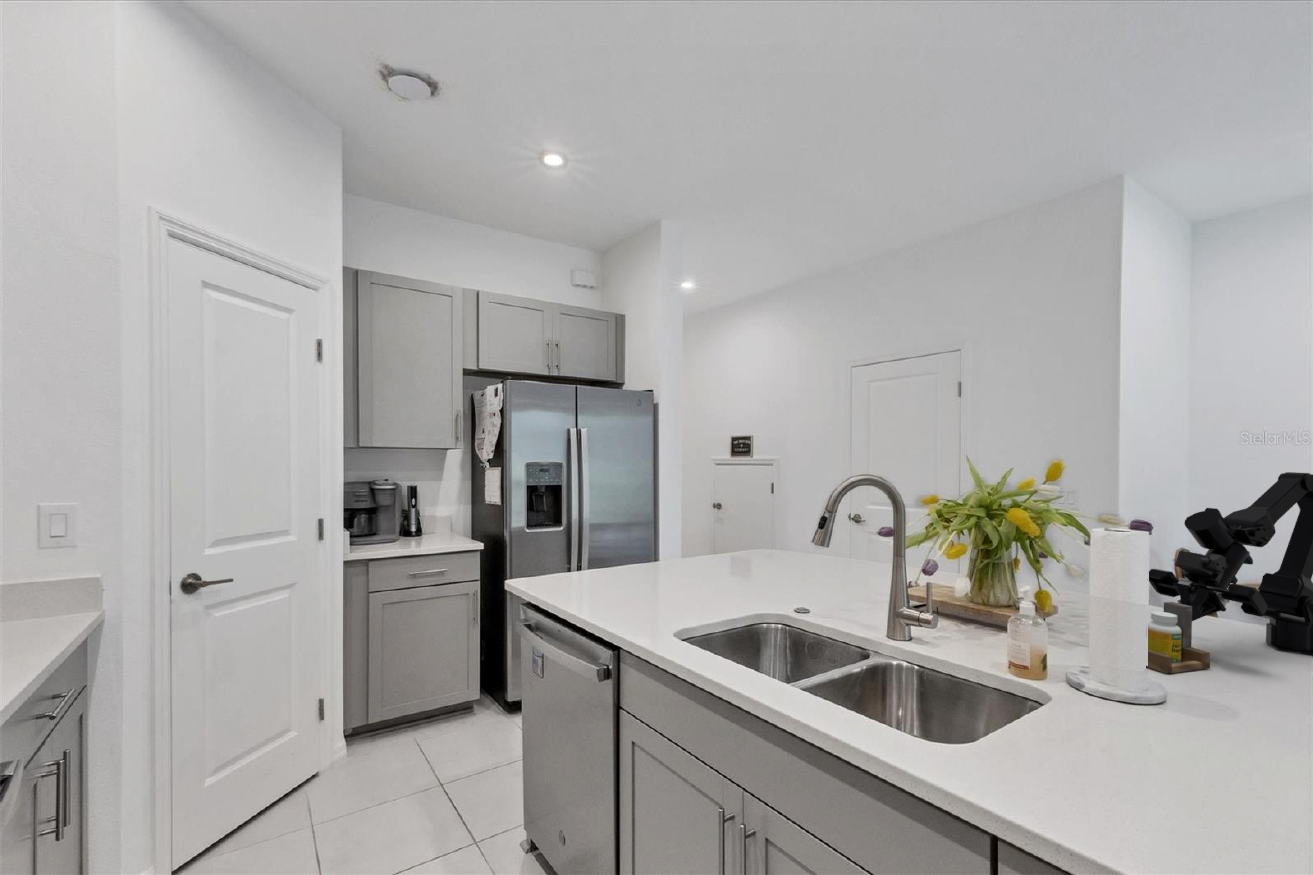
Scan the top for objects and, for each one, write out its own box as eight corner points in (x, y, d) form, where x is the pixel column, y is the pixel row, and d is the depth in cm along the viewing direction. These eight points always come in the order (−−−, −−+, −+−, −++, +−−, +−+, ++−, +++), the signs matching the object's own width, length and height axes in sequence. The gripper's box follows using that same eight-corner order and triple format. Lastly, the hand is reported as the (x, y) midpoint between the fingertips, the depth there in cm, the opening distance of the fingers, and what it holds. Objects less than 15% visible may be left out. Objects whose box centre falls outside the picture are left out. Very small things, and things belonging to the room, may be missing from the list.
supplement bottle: (1151, 655, 125) (1152, 608, 125) (1185, 664, 120) (1186, 615, 120) (1141, 660, 122) (1142, 612, 122) (1175, 669, 117) (1176, 619, 117)
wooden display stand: (1153, 650, 127) (1154, 597, 127) (1210, 668, 118) (1211, 610, 118) (1112, 655, 124) (1113, 601, 124) (1167, 673, 114) (1168, 614, 114)
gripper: (1152, 531, 133) (1115, 584, 130) (1259, 545, 116) (1219, 607, 112) (1176, 566, 136) (1140, 619, 132) (1284, 585, 118) (1246, 647, 115)
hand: (1182, 622), depth 123 cm, fingers closed
